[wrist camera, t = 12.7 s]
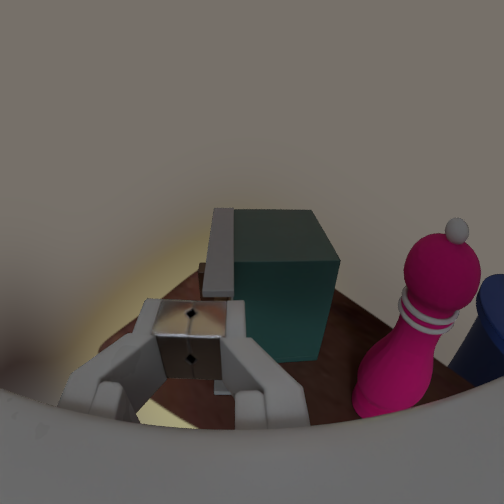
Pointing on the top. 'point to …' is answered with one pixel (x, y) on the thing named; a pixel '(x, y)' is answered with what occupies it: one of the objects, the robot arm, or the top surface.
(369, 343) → the top surface
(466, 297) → the pepper mill
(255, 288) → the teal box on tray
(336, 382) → the top surface
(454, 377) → the top surface
